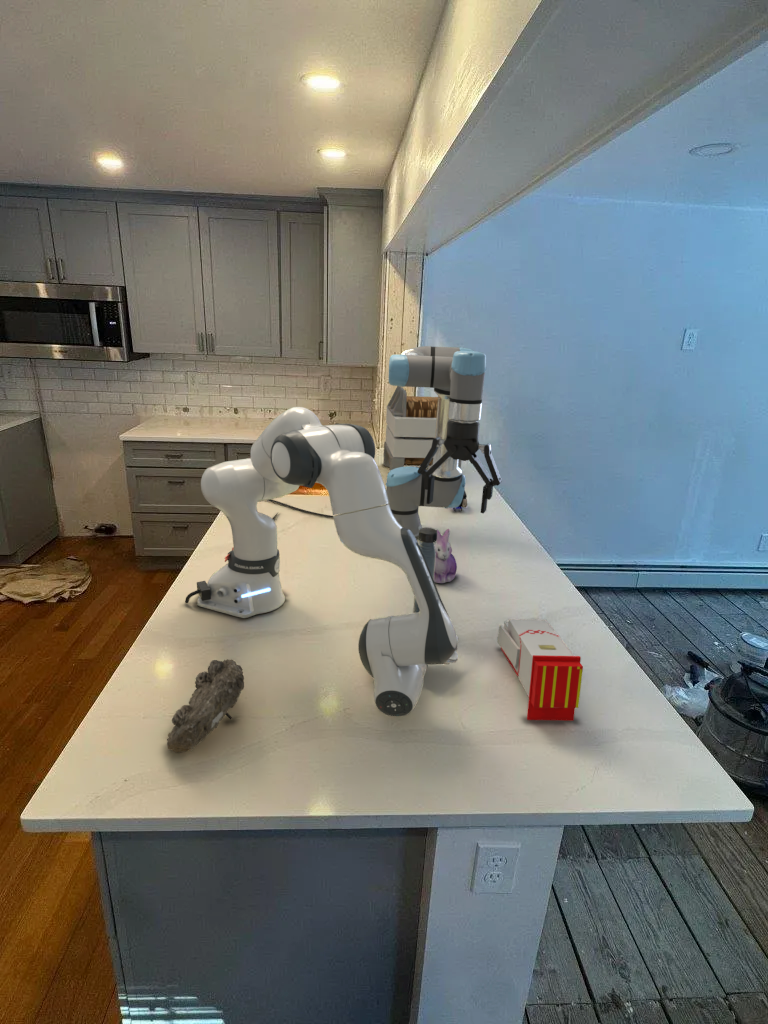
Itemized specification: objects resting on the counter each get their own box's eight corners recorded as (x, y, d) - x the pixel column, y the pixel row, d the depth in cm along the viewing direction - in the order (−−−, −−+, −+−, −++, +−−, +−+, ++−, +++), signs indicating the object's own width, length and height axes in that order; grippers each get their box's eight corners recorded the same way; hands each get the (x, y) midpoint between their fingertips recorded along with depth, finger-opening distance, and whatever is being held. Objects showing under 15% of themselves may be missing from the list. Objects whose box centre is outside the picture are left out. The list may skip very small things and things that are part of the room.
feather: (285, 507, 224) (287, 503, 224) (267, 531, 198) (270, 526, 197) (281, 504, 224) (284, 500, 223) (263, 528, 197) (265, 524, 197)
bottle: (419, 617, 146) (426, 527, 138) (433, 623, 144) (441, 532, 135) (408, 623, 143) (414, 532, 135) (423, 630, 140) (430, 537, 132)
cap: (425, 534, 139) (426, 526, 138) (440, 539, 136) (441, 530, 135) (414, 539, 135) (415, 530, 135) (429, 544, 133) (430, 535, 132)
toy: (543, 604, 136) (592, 662, 106) (538, 656, 138) (584, 727, 109) (493, 603, 135) (528, 661, 106) (489, 655, 138) (522, 726, 109)
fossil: (192, 660, 117) (244, 628, 112) (224, 691, 120) (276, 661, 115) (142, 746, 98) (202, 712, 93) (182, 779, 101) (242, 748, 96)
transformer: (382, 463, 289) (386, 382, 275) (445, 464, 293) (451, 384, 279) (390, 482, 257) (394, 392, 243) (460, 483, 261) (468, 394, 247)
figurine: (438, 587, 162) (442, 538, 157) (419, 572, 171) (423, 526, 166) (465, 581, 166) (470, 534, 161) (446, 567, 175) (450, 522, 170)
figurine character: (467, 516, 223) (461, 500, 237) (469, 499, 220) (463, 483, 233) (450, 516, 223) (446, 499, 236) (452, 498, 220) (447, 483, 233)
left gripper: (458, 651, 116) (462, 618, 129) (361, 637, 120) (374, 605, 132) (455, 677, 118) (460, 641, 131) (360, 662, 122) (373, 629, 134)
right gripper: (520, 423, 130) (510, 510, 137) (418, 412, 139) (413, 494, 146) (514, 429, 124) (503, 520, 131) (408, 416, 133) (403, 502, 140)
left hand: (416, 623), depth 132 cm, fingers open, 8 cm apart
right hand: (456, 507), depth 139 cm, fingers open, 13 cm apart
